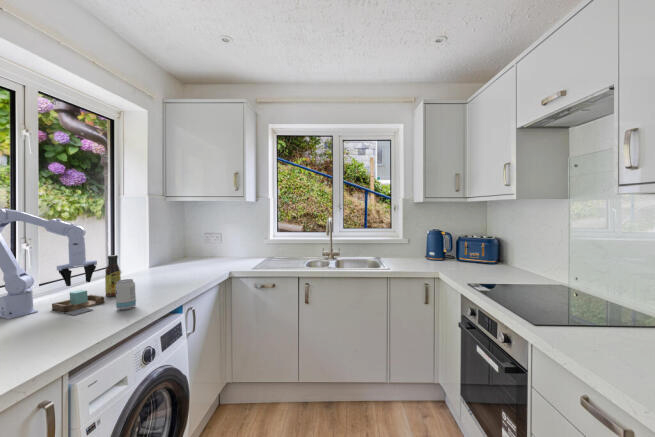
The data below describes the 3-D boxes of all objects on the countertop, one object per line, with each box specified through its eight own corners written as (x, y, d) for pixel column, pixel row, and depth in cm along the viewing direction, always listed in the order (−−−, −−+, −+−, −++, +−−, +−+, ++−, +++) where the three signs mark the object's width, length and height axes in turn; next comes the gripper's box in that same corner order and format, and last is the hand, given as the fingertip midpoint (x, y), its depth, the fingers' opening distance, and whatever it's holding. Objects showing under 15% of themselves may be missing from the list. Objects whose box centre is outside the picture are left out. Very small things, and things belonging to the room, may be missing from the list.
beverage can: (119, 307, 133) (117, 279, 132) (137, 305, 135) (136, 278, 135) (114, 312, 126) (113, 283, 126) (133, 309, 129) (132, 281, 128)
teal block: (75, 304, 132) (75, 293, 132) (70, 303, 134) (69, 292, 134) (87, 301, 136) (87, 290, 136) (81, 300, 138) (81, 289, 138)
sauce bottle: (113, 297, 149) (111, 256, 148) (102, 296, 150) (100, 256, 149) (124, 293, 155) (122, 254, 155) (114, 293, 156) (112, 254, 156)
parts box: (64, 313, 126) (64, 306, 126) (52, 310, 131) (51, 303, 131) (104, 302, 140) (104, 296, 140) (91, 300, 144) (91, 294, 144)
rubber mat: (73, 315, 123) (73, 314, 123) (64, 313, 126) (64, 312, 126) (93, 310, 129) (93, 309, 129) (83, 308, 132) (83, 307, 132)
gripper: (62, 255, 127) (64, 288, 127) (100, 251, 140) (101, 280, 141) (53, 255, 130) (54, 287, 130) (91, 250, 143) (92, 279, 143)
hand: (78, 283), depth 135 cm, fingers open, 7 cm apart
